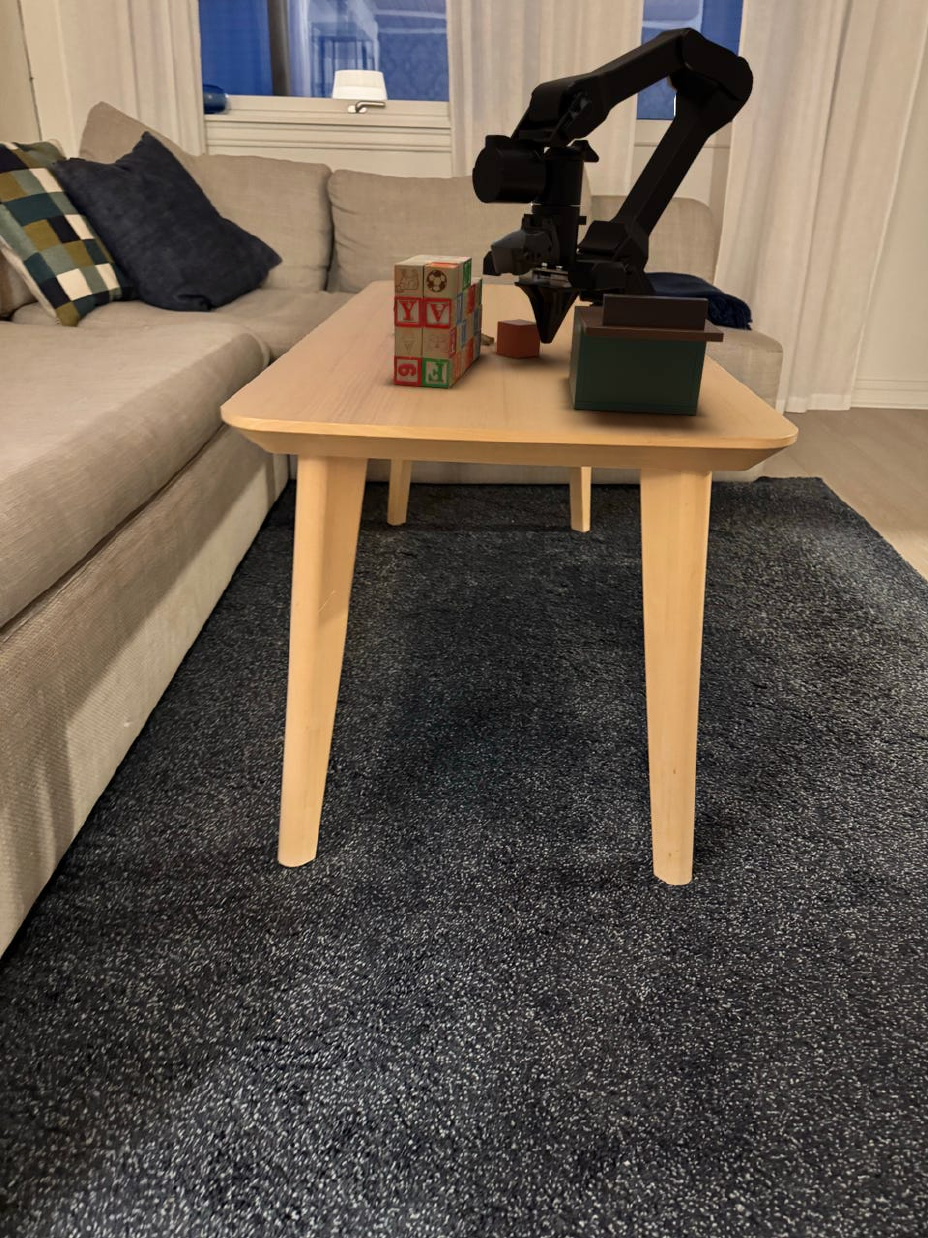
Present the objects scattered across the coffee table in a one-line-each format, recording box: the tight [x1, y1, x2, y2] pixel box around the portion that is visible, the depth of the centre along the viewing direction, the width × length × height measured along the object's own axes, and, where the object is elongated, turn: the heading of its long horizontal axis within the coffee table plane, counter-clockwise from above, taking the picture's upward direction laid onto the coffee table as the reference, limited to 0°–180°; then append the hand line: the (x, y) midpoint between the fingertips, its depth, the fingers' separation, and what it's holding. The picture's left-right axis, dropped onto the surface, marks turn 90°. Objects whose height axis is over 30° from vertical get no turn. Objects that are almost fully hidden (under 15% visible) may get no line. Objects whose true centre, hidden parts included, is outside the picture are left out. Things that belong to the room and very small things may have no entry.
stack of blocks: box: [393, 254, 484, 389], centre depth 104 cm, size 21×6×12 cm, turn 170°
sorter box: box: [568, 305, 708, 416], centre depth 94 cm, size 15×12×8 cm
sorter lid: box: [577, 294, 725, 343], centre depth 85 cm, size 15×12×3 cm
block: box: [495, 318, 541, 359], centre depth 116 cm, size 4×4×4 cm
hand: (546, 343), depth 112 cm, fingers closed
